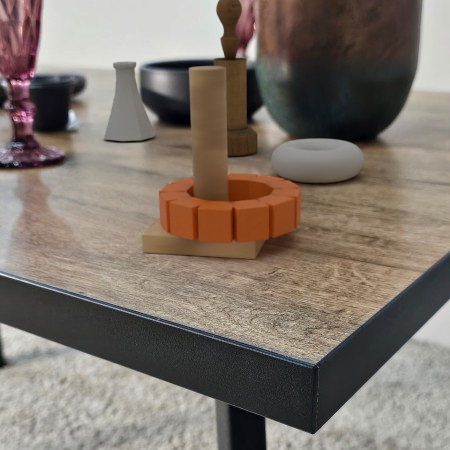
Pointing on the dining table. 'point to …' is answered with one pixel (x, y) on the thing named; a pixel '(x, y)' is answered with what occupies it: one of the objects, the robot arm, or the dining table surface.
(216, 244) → the stand
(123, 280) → the dining table surface
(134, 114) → the flask
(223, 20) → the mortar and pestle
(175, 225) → the ring
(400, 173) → the dining table surface
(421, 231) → the dining table surface
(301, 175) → the donut
